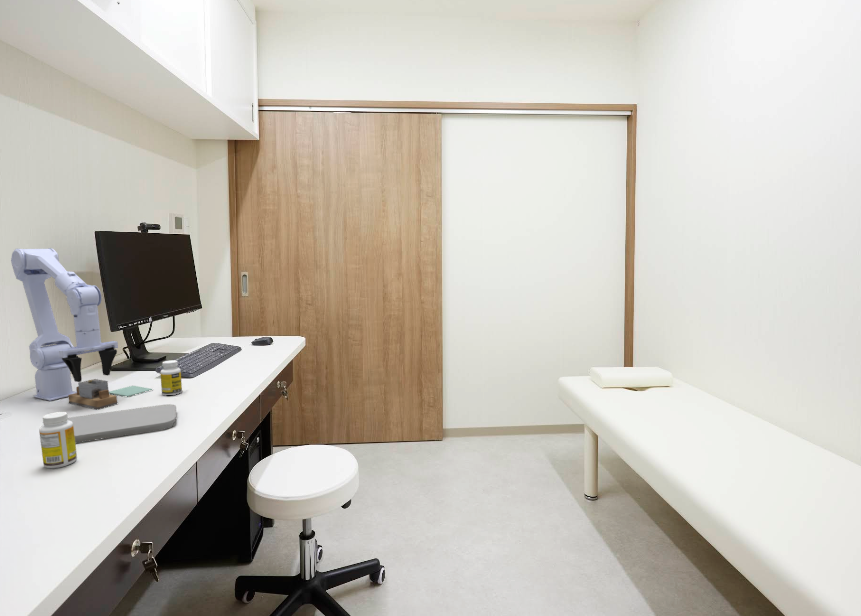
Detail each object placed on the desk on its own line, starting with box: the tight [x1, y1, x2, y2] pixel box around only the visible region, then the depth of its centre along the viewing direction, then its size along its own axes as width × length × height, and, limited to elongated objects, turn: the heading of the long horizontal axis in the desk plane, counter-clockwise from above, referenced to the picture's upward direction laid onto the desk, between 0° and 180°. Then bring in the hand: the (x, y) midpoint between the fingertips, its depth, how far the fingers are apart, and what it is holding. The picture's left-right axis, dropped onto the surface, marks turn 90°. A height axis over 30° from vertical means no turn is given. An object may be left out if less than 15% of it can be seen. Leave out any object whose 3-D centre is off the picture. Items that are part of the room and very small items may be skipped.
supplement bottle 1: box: [39, 411, 78, 469], centre depth 103 cm, size 6×6×10 cm
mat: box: [109, 385, 153, 398], centre depth 156 cm, size 10×8×1 cm
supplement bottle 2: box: [160, 359, 183, 396], centre depth 152 cm, size 5×5×10 cm
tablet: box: [68, 403, 177, 444], centre depth 124 cm, size 16×26×2 cm, turn 116°
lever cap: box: [77, 378, 109, 399], centre depth 143 cm, size 6×4×5 cm
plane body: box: [68, 385, 119, 410], centre depth 144 cm, size 14×6×4 cm, turn 62°
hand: (92, 378), depth 143 cm, fingers open, 7 cm apart
